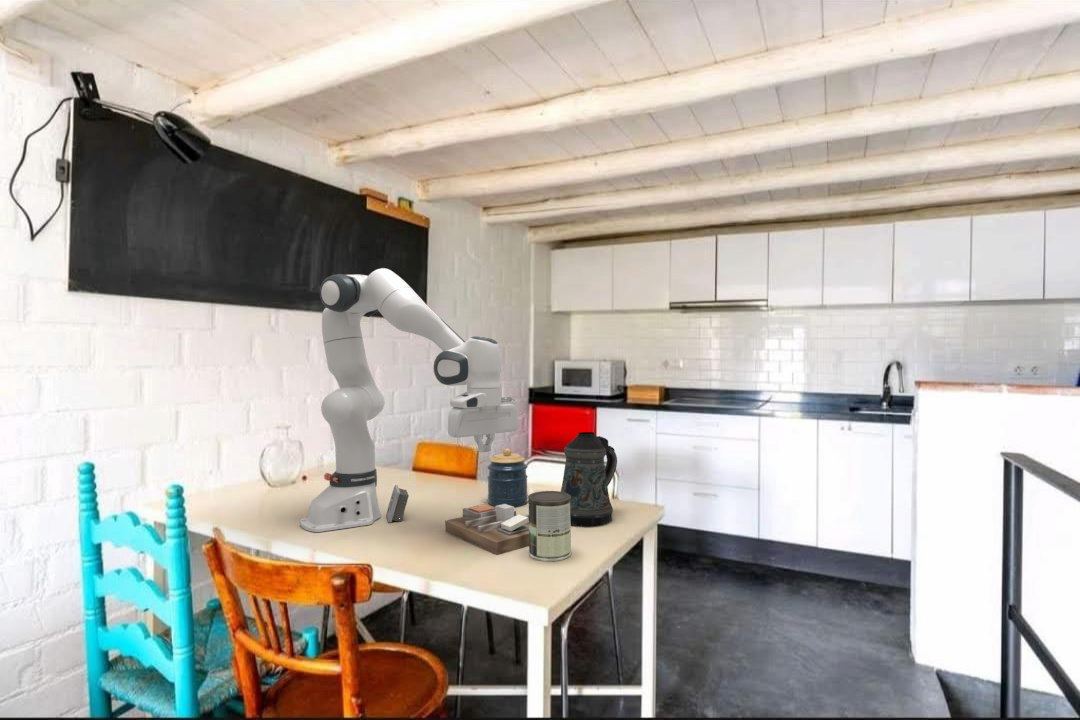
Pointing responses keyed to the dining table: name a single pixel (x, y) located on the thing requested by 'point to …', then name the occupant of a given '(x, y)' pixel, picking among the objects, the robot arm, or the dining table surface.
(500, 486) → the canister
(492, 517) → the control panel
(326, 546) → the dining table surface
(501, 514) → the block
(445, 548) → the dining table surface
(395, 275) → the robot arm
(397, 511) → the electrical switch
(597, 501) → the beer stein
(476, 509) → the push button
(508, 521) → the rocker switch
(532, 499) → the coffee can
